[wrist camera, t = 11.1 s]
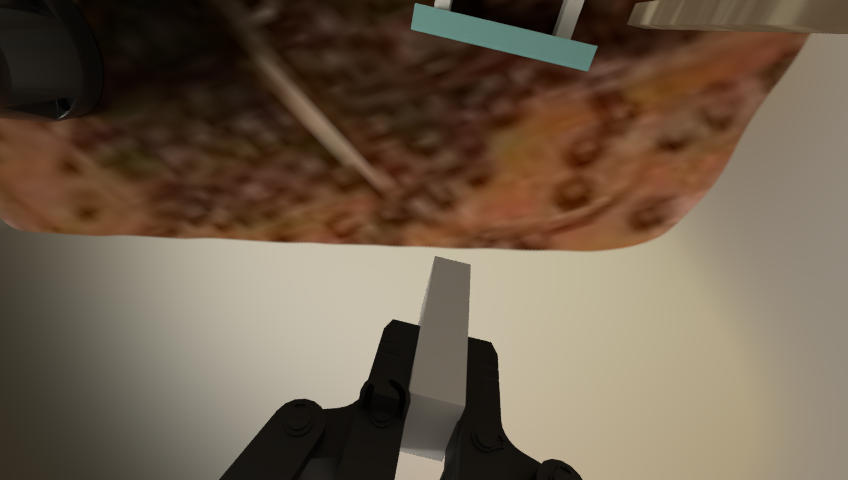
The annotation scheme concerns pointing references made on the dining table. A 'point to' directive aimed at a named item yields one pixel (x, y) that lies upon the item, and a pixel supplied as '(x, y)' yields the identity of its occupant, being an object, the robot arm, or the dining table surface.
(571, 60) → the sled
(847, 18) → the beige tall open frame
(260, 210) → the dining table surface
